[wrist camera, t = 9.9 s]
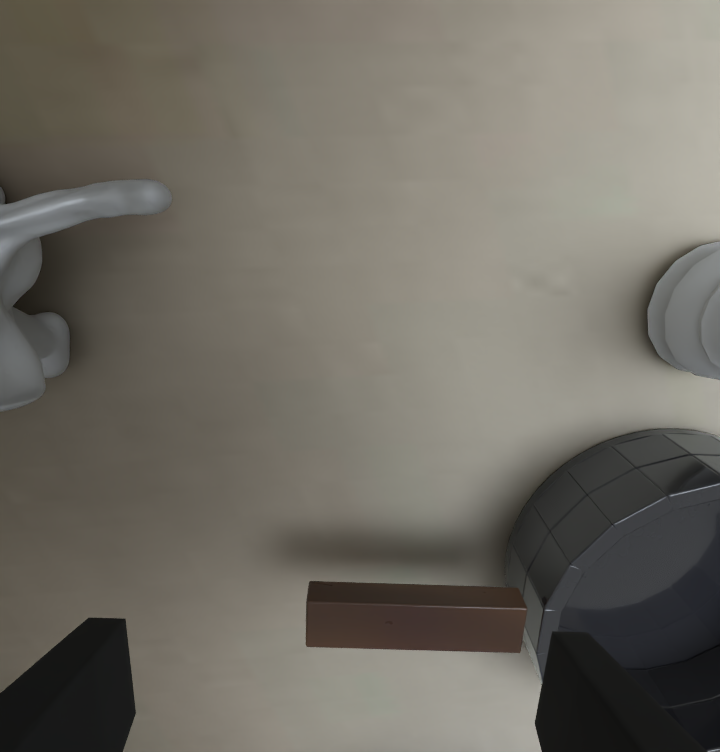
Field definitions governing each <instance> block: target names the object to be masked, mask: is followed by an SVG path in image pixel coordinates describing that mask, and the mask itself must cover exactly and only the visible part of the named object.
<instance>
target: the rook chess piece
mask: <svg viewBox="0 0 720 752" xmlns="http://www.w3.org/2000/svg"><path fill="white" fill-rule="evenodd" d="M647 314H648V336H649V337H650V339H651V341H652V343H653V345H654V347H655V349H656V351H657V353H658V355H659V356H660V357H661V358H663V359H664V360H665V361H667V362H668V363H670V364H671V365H672V366H674V367H675V368H676V369H678V370H683V371H688V372H692V373H693V374H694V375H697V376H702V377H707V378H713V379H718V380H720V242H715V243H710V244H705V245H701V246H699V247H697V248H696V249H694V250H692V251H691V252H689V253H688V254H686V255H684V256H683V257H681V258H680V259H678V260H676V261H675V262H674V263H673V265H672V266H671V267H670V268H669V269H668V271H667V272H666V273H665V274H664V276H663V277H662V278H661V279H660V280H659V282H658V283H657V284H656V287H655V290H654V293H653V296H652V298H651V301H650V304H649V307H648V310H647Z"/></svg>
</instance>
